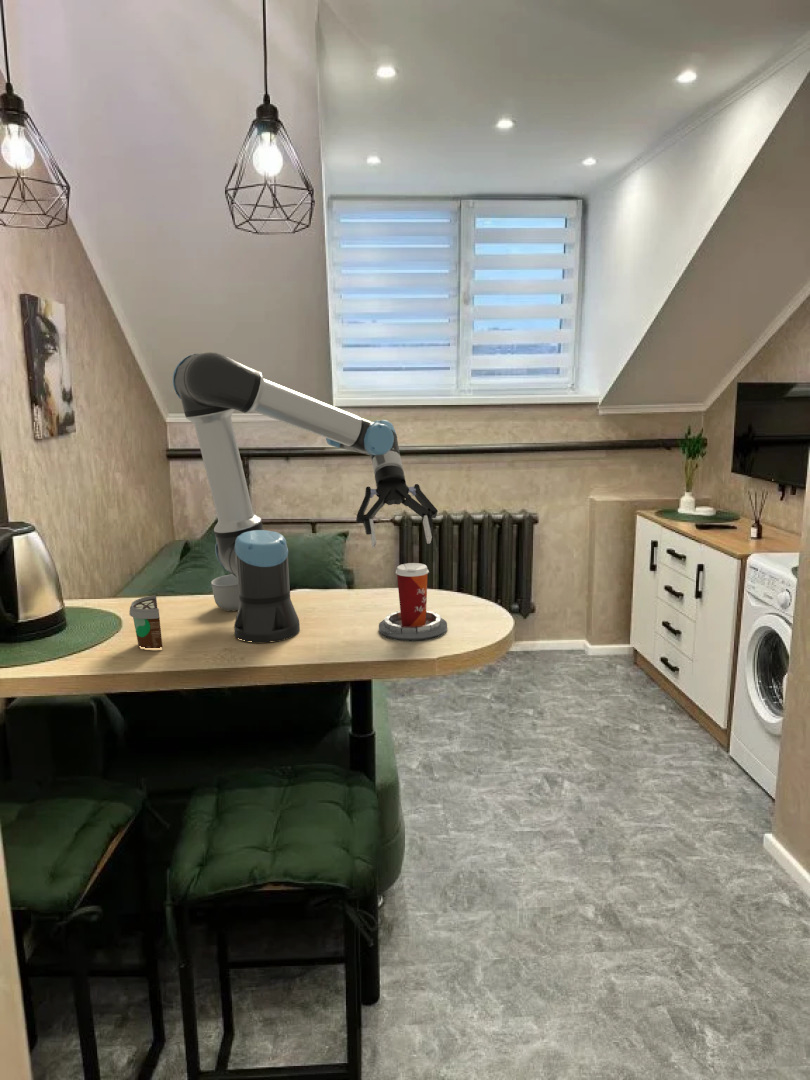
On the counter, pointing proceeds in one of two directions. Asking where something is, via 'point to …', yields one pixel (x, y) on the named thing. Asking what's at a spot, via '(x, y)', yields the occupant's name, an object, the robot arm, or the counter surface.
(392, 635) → the rosette plate
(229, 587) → the teacup
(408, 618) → the paper cup
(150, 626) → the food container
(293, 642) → the counter surface
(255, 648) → the counter surface
